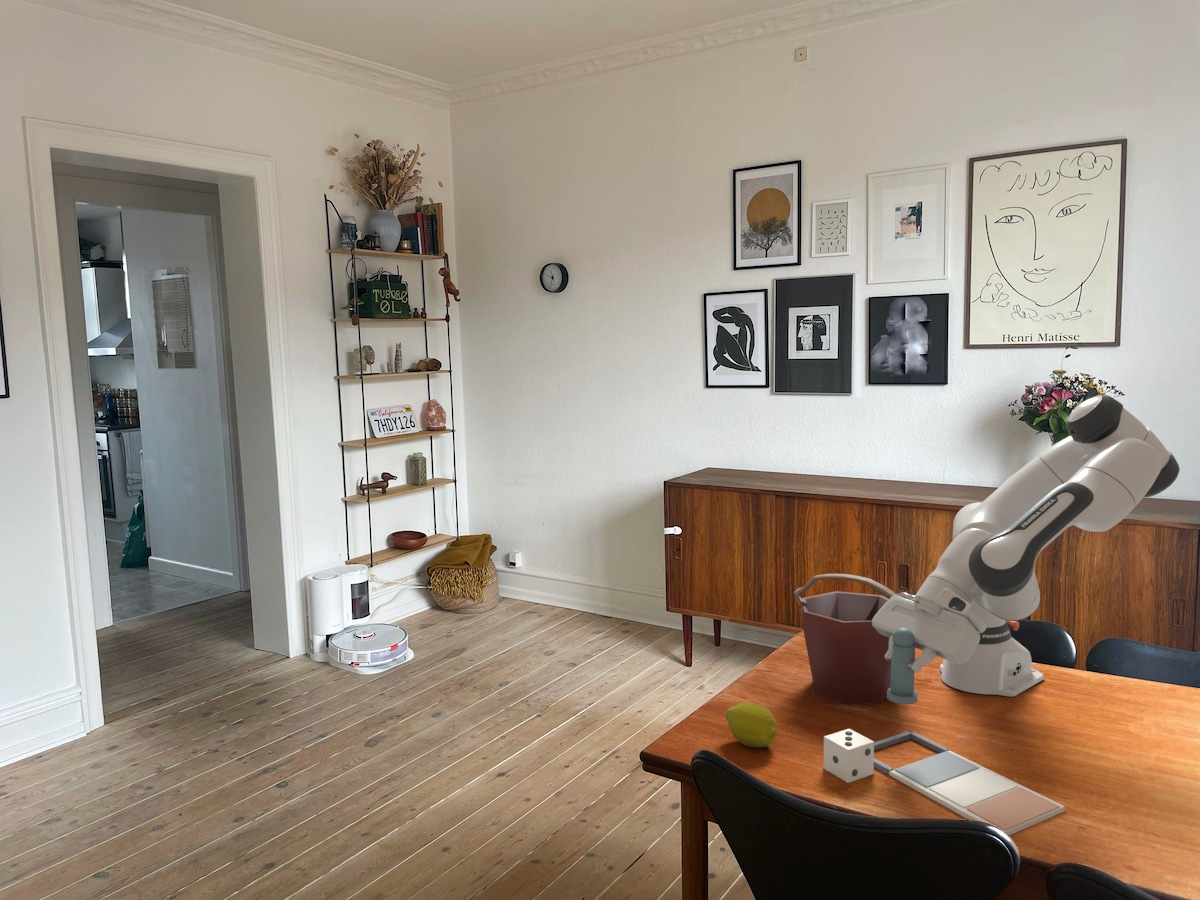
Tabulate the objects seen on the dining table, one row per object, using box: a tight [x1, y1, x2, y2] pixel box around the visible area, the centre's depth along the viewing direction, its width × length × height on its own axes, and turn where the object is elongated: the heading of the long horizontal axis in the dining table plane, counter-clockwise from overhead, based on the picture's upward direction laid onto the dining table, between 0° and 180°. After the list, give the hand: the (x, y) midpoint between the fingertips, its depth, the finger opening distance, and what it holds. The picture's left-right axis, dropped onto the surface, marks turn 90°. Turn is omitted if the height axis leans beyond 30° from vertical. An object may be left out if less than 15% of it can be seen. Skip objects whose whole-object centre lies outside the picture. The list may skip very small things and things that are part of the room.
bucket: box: [793, 573, 897, 705], centre depth 188 cm, size 24×22×25 cm
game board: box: [874, 729, 1066, 837], centre depth 149 cm, size 15×32×1 cm, turn 28°
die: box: [823, 728, 875, 784], centre depth 153 cm, size 6×6×6 cm
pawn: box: [886, 628, 918, 706], centre depth 157 cm, size 5×5×13 cm
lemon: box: [725, 701, 778, 749], centre depth 164 cm, size 11×8×8 cm
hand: (900, 665), depth 156 cm, fingers closed on pawn, 4 cm apart
